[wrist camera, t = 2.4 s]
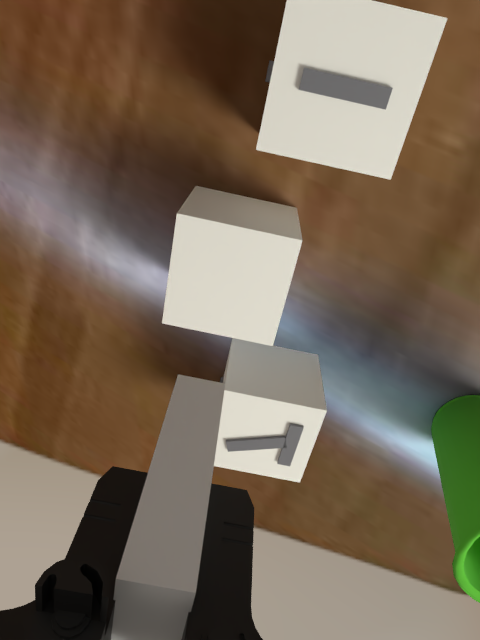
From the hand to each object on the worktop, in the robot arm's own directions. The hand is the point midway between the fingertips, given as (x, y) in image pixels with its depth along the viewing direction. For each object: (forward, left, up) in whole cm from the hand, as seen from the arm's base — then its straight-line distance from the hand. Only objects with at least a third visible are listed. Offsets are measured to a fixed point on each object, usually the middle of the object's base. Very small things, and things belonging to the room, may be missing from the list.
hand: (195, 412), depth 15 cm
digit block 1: (-10, +3, -15) cm, 19 cm away
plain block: (0, 0, -15) cm, 15 cm away
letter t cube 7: (+9, +4, -15) cm, 18 cm away
